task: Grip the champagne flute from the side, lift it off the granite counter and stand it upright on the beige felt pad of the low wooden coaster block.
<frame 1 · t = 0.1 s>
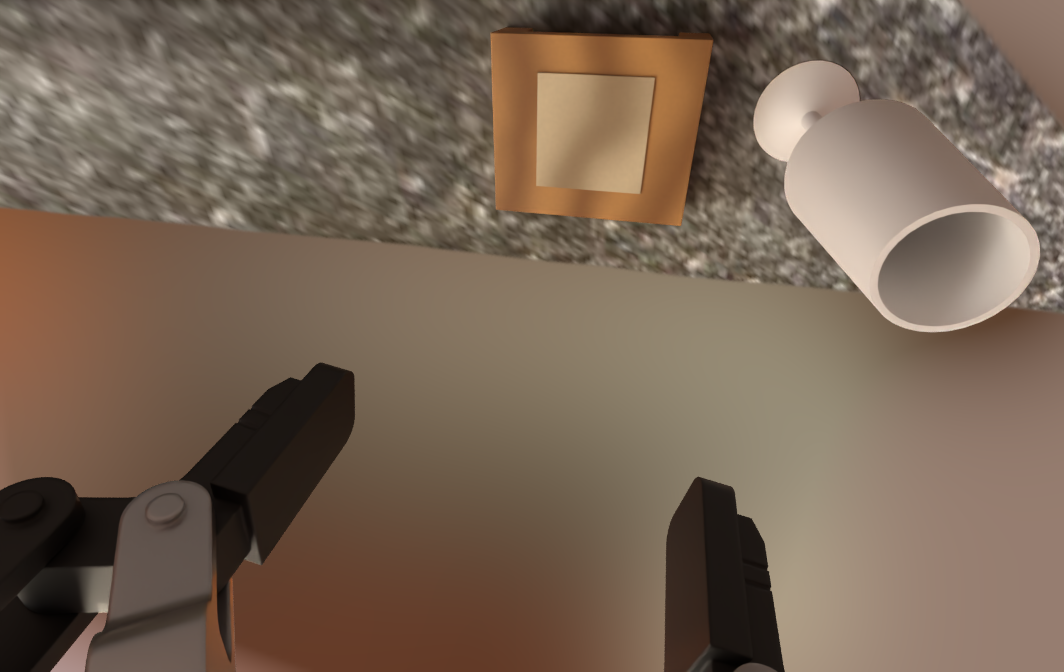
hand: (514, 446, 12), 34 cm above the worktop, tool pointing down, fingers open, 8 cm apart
champagne flute: (804, 113, 37), on the worktop
wooden coaster block: (597, 121, 40), on the worktop
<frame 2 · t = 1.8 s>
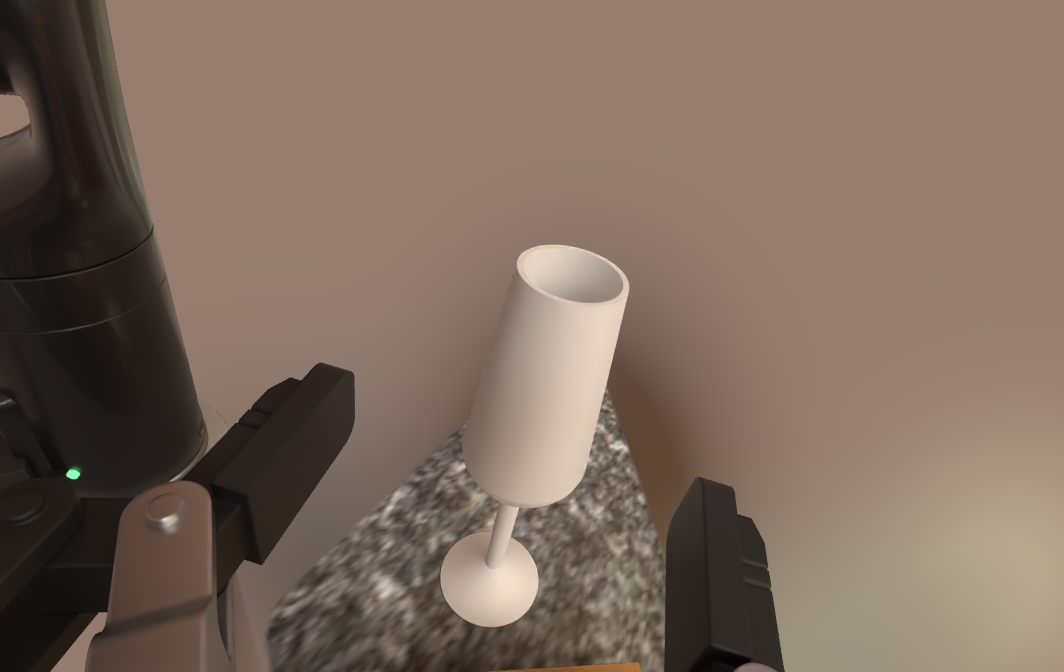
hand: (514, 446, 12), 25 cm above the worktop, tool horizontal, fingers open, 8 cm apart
champagne flute: (489, 577, 36), on the worktop
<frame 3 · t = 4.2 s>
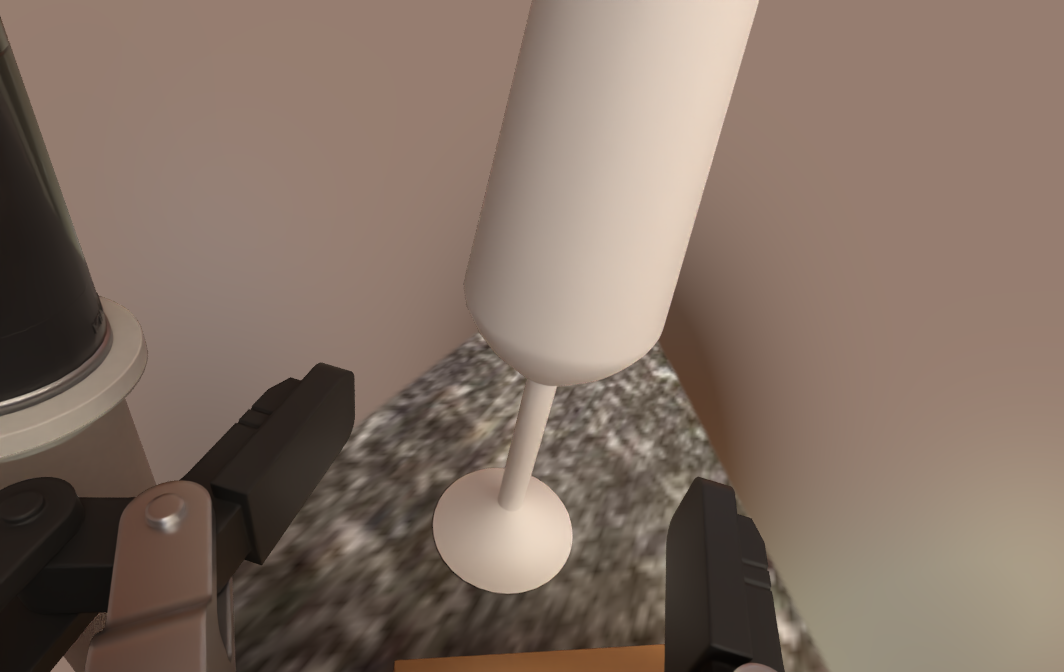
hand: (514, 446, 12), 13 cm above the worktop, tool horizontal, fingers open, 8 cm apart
champagne flute: (503, 526, 26), on the worktop
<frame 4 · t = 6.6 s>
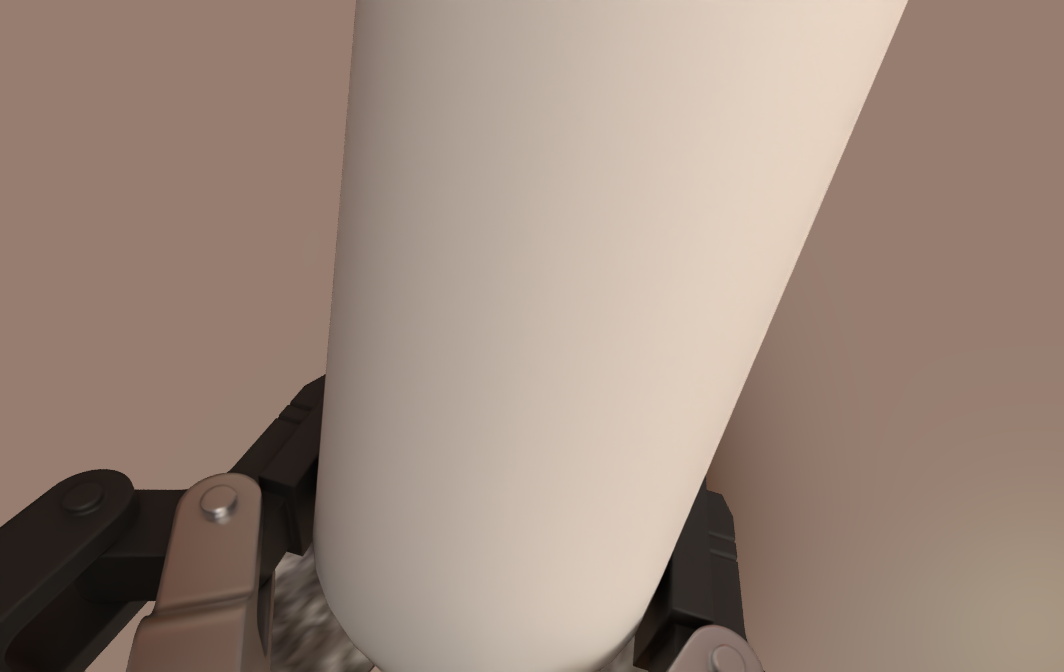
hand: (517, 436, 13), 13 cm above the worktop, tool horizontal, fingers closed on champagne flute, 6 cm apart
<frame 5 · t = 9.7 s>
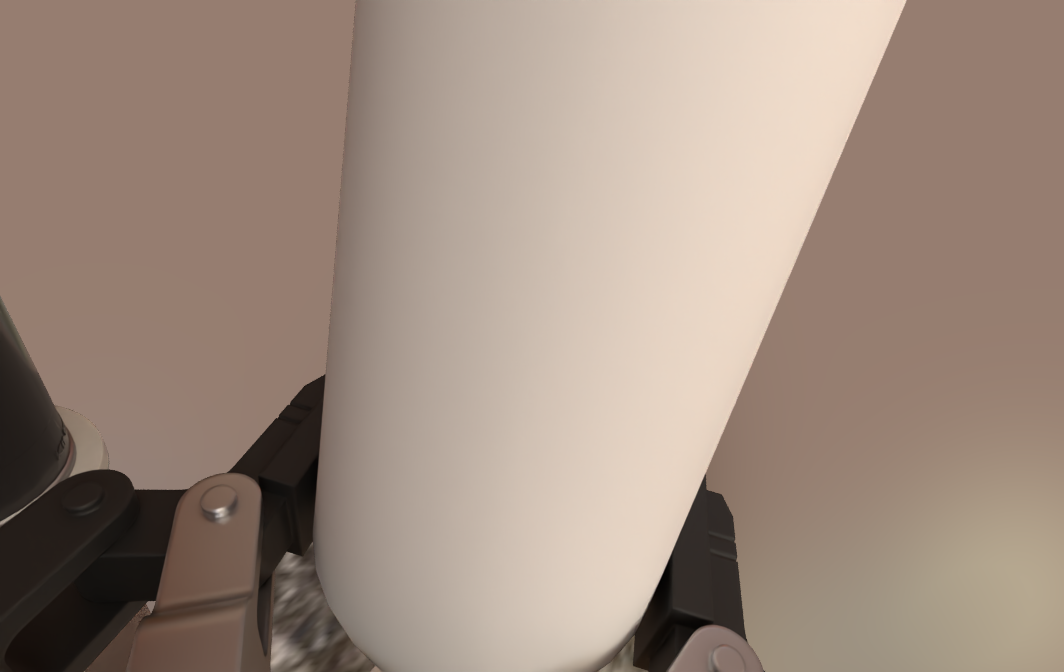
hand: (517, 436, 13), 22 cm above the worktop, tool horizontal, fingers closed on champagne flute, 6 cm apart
when the fingers open (17 cm above the worktop, at t = 12.8 s): champagne flute stays where it is, resting on wooden coaster block.
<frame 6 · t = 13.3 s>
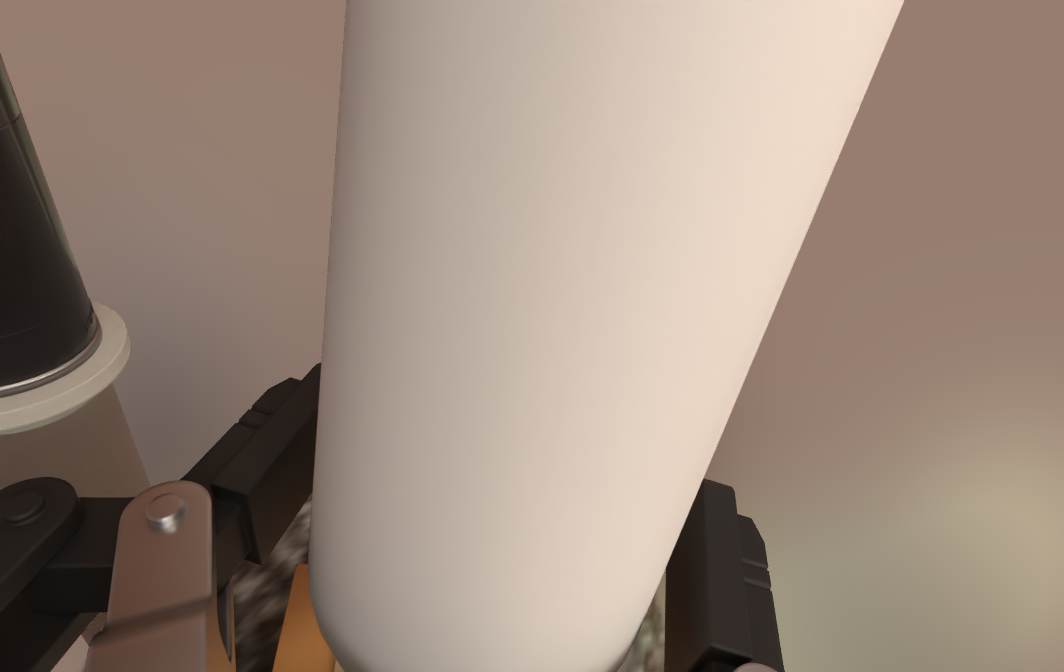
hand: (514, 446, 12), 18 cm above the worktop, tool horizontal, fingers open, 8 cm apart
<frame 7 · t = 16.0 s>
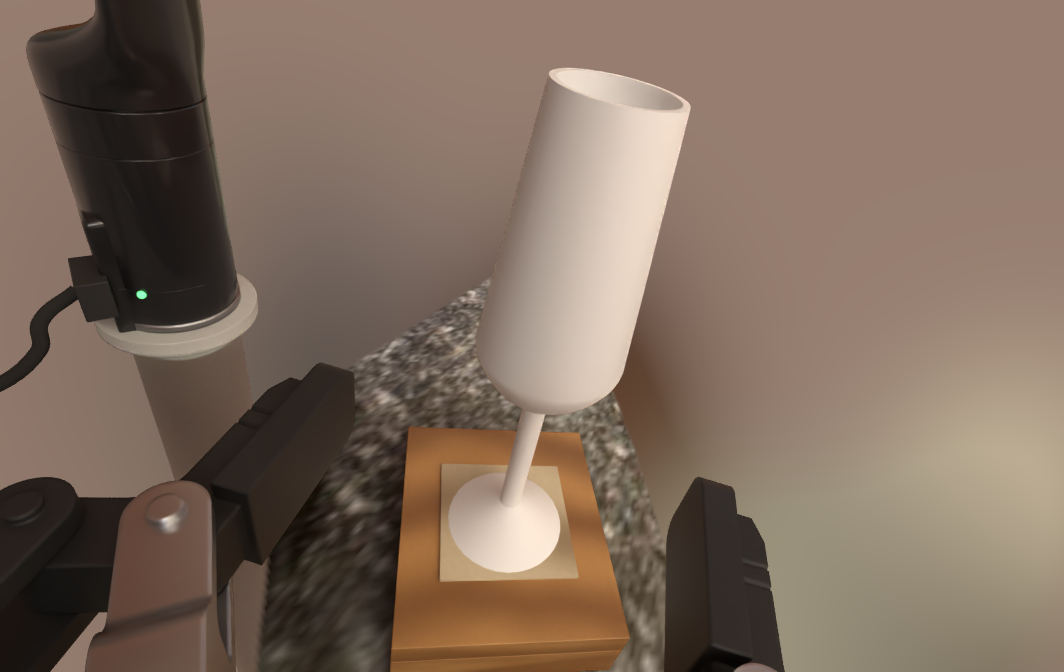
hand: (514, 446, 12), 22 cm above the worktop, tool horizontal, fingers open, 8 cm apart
champagne flute: (504, 520, 32), point 4 cm above the worktop, touching wooden coaster block
wooden coaster block: (495, 554, 34), on the worktop
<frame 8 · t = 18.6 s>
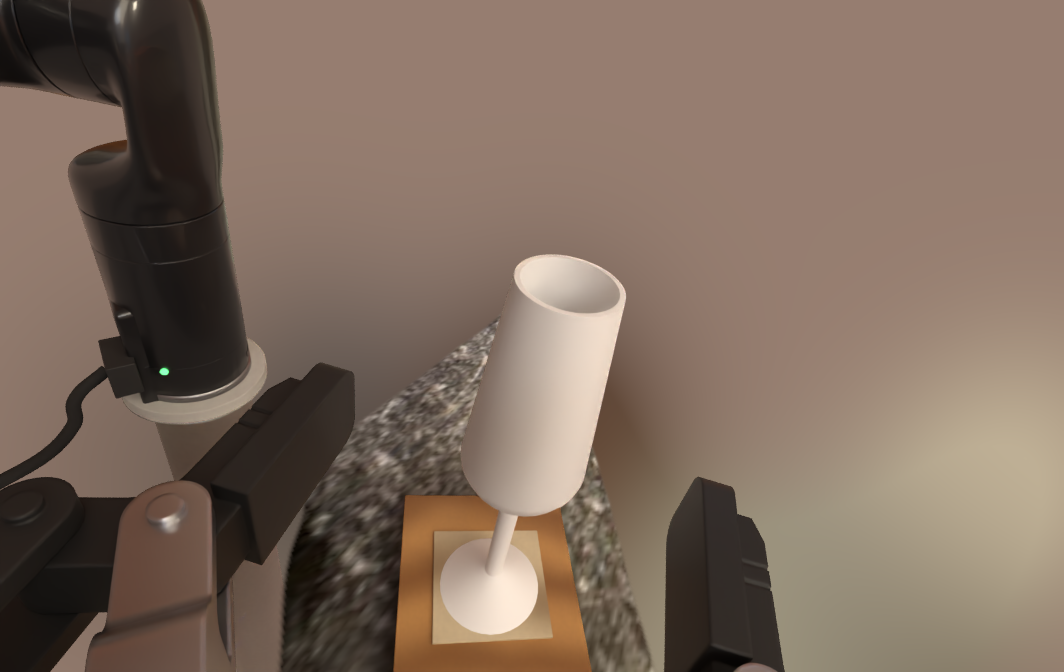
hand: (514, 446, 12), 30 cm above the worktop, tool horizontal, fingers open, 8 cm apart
champagne flute: (489, 584, 36), point 4 cm above the worktop, touching wooden coaster block
wooden coaster block: (481, 610, 39), on the worktop
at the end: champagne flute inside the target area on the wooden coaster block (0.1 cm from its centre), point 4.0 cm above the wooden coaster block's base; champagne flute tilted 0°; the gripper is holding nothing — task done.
